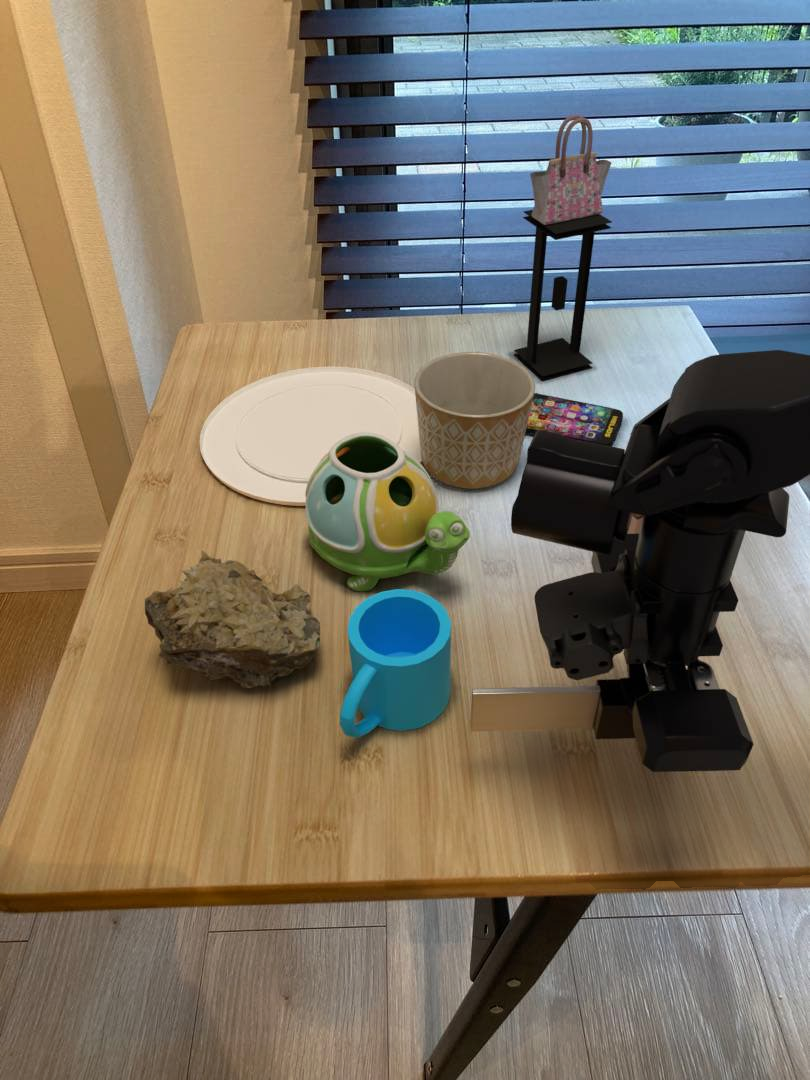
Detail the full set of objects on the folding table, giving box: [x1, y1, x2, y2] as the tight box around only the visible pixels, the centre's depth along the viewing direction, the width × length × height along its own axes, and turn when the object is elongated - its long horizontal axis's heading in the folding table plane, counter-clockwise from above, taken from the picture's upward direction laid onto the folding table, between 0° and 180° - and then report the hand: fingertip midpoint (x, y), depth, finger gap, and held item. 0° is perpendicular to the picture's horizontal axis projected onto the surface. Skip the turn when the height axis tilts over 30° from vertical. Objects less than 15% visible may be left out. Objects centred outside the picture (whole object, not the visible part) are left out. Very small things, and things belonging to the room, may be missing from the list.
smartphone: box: [525, 392, 624, 447], centre depth 101 cm, size 8×1×15 cm
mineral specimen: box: [144, 549, 321, 689], centre depth 73 cm, size 14×13×10 cm
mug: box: [339, 588, 452, 739], centre depth 68 cm, size 12×8×8 cm
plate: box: [199, 366, 423, 507], centre depth 100 cm, size 28×28×1 cm
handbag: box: [513, 114, 613, 382], centre depth 102 cm, size 10×8×30 cm
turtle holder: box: [304, 432, 471, 592], centre depth 80 cm, size 12×18×12 cm
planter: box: [413, 351, 536, 489], centre depth 92 cm, size 13×13×10 cm
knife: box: [470, 678, 636, 740], centre depth 61 cm, size 16×2×4 cm, turn 91°
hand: (642, 716), depth 62 cm, fingers closed on knife, 2 cm apart
